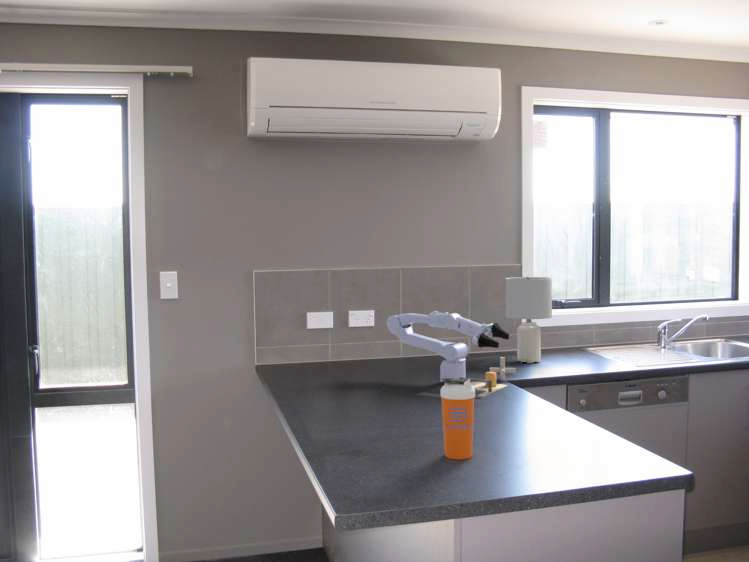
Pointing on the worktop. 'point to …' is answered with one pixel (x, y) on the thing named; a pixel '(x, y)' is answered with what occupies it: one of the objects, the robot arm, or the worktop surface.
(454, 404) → the shaker bottle
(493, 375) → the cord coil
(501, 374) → the pipe connector
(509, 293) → the lamp
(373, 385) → the worktop surface
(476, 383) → the shelf board
